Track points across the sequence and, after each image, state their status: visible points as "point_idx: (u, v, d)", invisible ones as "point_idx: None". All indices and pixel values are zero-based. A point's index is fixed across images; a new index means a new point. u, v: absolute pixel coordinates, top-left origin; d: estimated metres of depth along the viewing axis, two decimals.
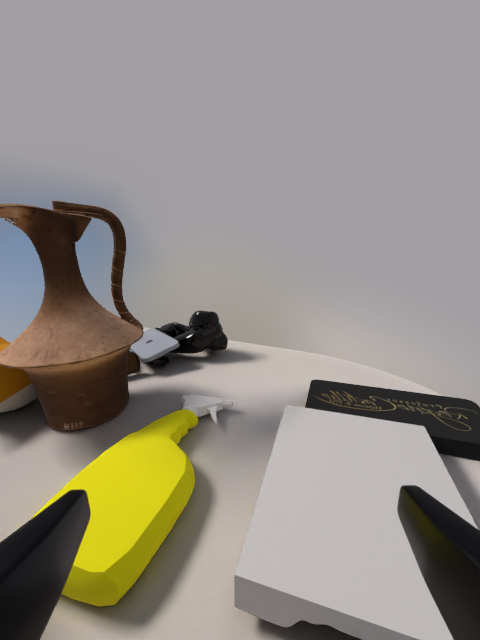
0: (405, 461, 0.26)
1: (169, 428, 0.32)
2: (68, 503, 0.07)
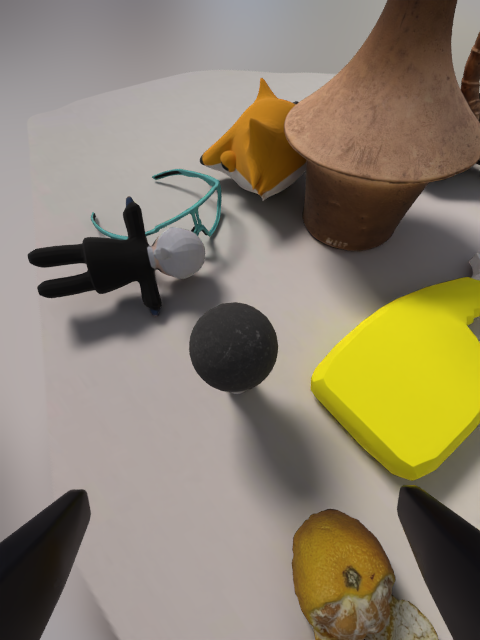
0: None
1: (466, 308, 0.25)
2: (68, 503, 0.07)
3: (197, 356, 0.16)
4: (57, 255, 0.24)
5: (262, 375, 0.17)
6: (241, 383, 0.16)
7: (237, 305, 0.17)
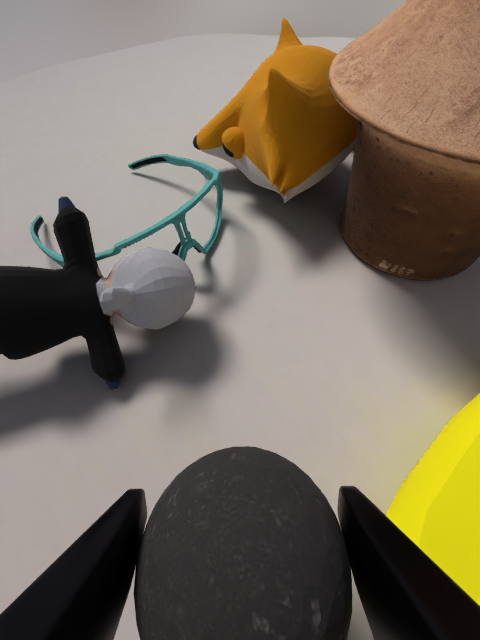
0: None
1: None
2: (131, 502, 0.07)
3: None
4: None
5: None
6: None
7: (255, 491, 0.07)
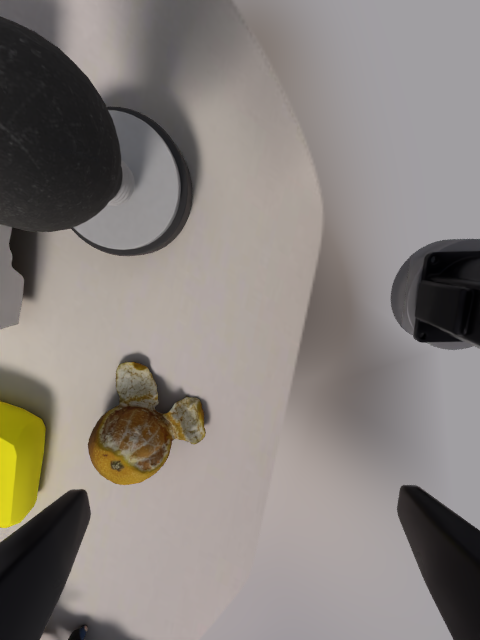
0: None
1: None
2: (68, 503, 0.07)
3: (25, 212, 0.08)
4: None
5: (91, 95, 0.08)
6: (98, 144, 0.08)
7: None
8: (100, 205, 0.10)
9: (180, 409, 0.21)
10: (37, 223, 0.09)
